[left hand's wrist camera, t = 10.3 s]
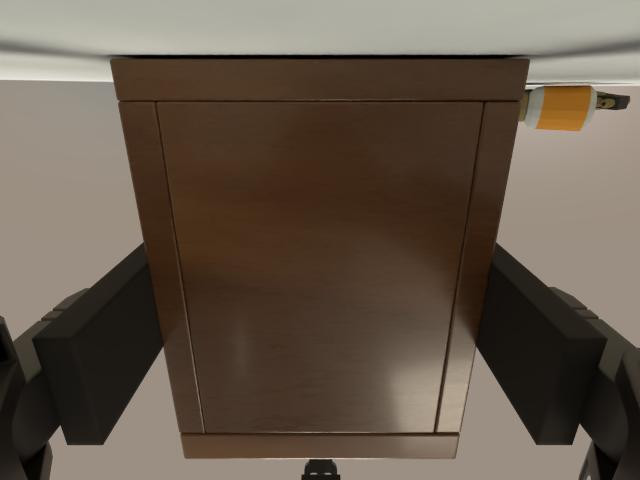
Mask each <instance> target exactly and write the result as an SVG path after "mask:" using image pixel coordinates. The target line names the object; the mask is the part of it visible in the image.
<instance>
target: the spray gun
mask: <svg viewBox="0 0 640 480" xmlns="http://www.w3.org/2000/svg"><path fill="white" fill-rule="evenodd" d="M519 102H521V110H520V115H519V121H523V120H524V122H525V124H526V125H527V126H528V127H531V128H534V129H548V130H567V131H580V130H582V129H584V128H585V127H586V126H587V125H588V124H589V123H590V121H591V119H592V117H593V114H594V112H595V110H600V109H610V110H620V109H626V108H627V105H628V104H629V102H630V96H623V95H615V94H608V93H605V92H599V91H595V90H594V89H593V87H592V86H590V85H575V86H541V87H537V88H535V89H534V90H533V89H526V90H525V91H524V96H523V99H522V100H521V101H519Z"/></svg>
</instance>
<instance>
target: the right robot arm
mask: <svg viewBox="0 0 640 480" xmlns="http://www.w3.org/2000/svg"><path fill="white" fill-rule="evenodd" d="M310 473H317V475H310ZM325 473H331V474H332V475H325ZM301 480H340V475H337V467H336V464H335V463H334V462H333V461H332V459H309V462H307V463H306V465H305V473H304V475H302V478H301Z"/></svg>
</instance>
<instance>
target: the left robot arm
mask: <svg viewBox="0 0 640 480" xmlns="http://www.w3.org/2000/svg"><path fill="white" fill-rule="evenodd" d="M476 347H477V348H478V350H479V352H480V353H481V355H482V356H483V358H484V360H485V361H486V363H487V364H488V366H489V368H490V370H491V371H492V373H493V374H494V376H495V378H496V379H497V381H498V383H499V384H500V386H501V388H502V389H503V391H504V392H505V394H506V396H507V397H508V399H509V401H510V402H511V404H512V406H513V407H514V409H515V410H516V412H517V414H518V415H519V417H520V419H521V420H522V422H523V423H524V425H525V427H526V428H527V430H528V432H529V433H530V435H531V437H532V438H533V440H534V442H535V443H536V445H572V444H573V441H574V438H575V435H576V432H577V429H578V426H579V423H580V424H581V426H582V427H583V428H584V430H585V431H586V432H587V433H588V435H589V436H590V437H591V439H592V441H591V444H590V447H589V450H588V452H587V455H586V458H585V461H584V463H583V466H582V469H581V472H580V475H579V480H586V479H587V477H588V476H589V475H590V476H591V480H640V348H636V347H635V346H634V345H633V344H631V343H630V342H629V341H628V340H626V339H625V338H624V337H623V336H621V335H620V334H619V333H618V332H617V331H615V330H614V329H613V328H612V327H610V326H609V325H608V324H607V323H605V322H604V321H603V320H602V319H599V318H598V316H597V315H596V314H594V313H593V312H592V311H591V310H587V307H586V306H585V305H583V304H582V303H581V302H580V301H578V300H577V299H576V298H575V297H573V296H571V295H569V294H567V293H565V292H563V291H561V290H559V289H557V288H555V287H547V286H546V285H545V284H544V283H543V282H542V281H540V280H539V279H538V278H537V277H536V276H535V275H533V274H532V273H531V272H530V271H529V270H528V269H526V268H525V267H524V266H523V265H522V264H521V263H519V262H518V261H517V260H516V259H515V258H514V257H513V256H511V255H510V254H509V253H508V252H507V251H506V250H504V249H503V248H502V247H501V246H500V245H499V244H497V243H496V244H495V249H494V255H493V260H492V264H491V270H490V275H489V280H488V286H487V291H486V297H485V302H484V307H483V313H482V318H481V323H480V329H479V334H478V340H477V345H476ZM162 348H163V342H162V336H161V331H160V326H159V320H158V315H157V310H156V304H155V299H154V293H153V288H152V283H151V277H150V272H149V267H148V262H147V256H146V251H145V246H144V242H143V243H142V244H141V245H140V246H139V247H137V248H136V249H135V250H134V251H133V252H132V253H130V254H129V255H128V256H127V257H126V258H125V259H124V260H122V261H121V262H120V263H119V264H118V265H117V266H115V267H114V268H113V269H112V270H111V271H110V272H108V273H107V274H106V275H105V276H104V277H103V278H101V279H100V280H99V281H98V282H97V283H96V284H94V285H93V286H92V287H91V288H85V289H83V290H81V291H79V292H77V293H75V294H73V295H71V296H69V297H67V298H66V299H64V300H63V301H62V302H61V303H60V304H58V305H57V306H56V307H55V308H53V311H50V312H49V313H47V314H46V315H45V316H44V317H43V318H41V321H38V322H36V323H35V324H34V325H33V326H32V327H30V328H29V329H28V330H27V331H25V332H24V333H23V334H22V335H21V336H19V337H18V338H17V339H16V340H14V341H13V342H12V339H11V336H10V333H9V331H8V328H7V325H6V322H5V320H4V318H3V317H1V316H0V480H49V477H50V471H51V464H52V458H53V456H52V450H51V447H50V444H49V441H48V440H49V439H50V438H51V436H52V435H53V434H54V432H55V431H56V430H57V428H58V427H59V426H60V425H61V428H62V431H63V433H64V436H65V439H66V442H67V445H103V444H104V442H105V441H106V439H107V437H108V436H109V434H110V433H111V431H112V429H113V428H114V426H115V424H116V423H117V421H118V420H119V418H120V416H121V415H122V413H123V411H124V410H125V408H126V406H127V405H128V403H129V402H130V400H131V398H132V397H133V395H134V393H135V392H136V390H137V388H138V387H139V385H140V383H141V382H142V380H143V379H144V377H145V375H146V374H147V372H148V370H149V369H150V367H151V365H152V364H153V362H154V361H155V359H156V357H157V356H158V354H159V352H160V351H161V349H162Z"/></svg>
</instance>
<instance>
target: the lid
mask: <svg viewBox="0 0 640 480" xmlns="http://www.w3.org/2000/svg"><path fill="white" fill-rule="evenodd" d="M180 436H181V442H182V447H183V452H184V457H185V458H186V459H454V458H455V457H456V452H457V447H458V441H459V436H460V434H459V432H435V430H434V432H433V433H207V432H206V430H205V432H203V433H181V434H180Z"/></svg>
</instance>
